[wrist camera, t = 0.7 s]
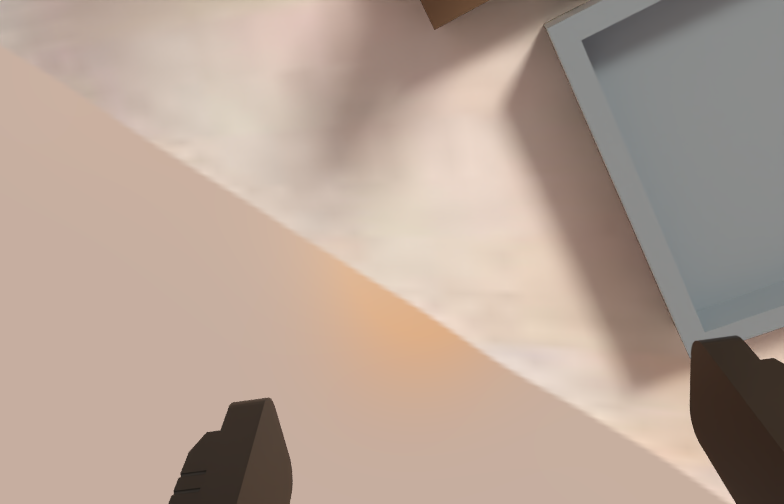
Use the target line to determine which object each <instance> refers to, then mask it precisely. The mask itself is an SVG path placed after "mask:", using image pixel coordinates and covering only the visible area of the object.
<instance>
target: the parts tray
mask: <svg viewBox="0 0 784 504" xmlns="http://www.w3.org/2000/svg"><path fill="white" fill-rule="evenodd" d="M544 27H545V29H546V31H547V33H548V36H549V38H550V40H551V43H552V45H553V47H554V49H555V52H556V54H557V56H558V59H559V61H560V63H561V66H562V68H563V70H564V72H565V75H566V77H567V79H568V82H569V84H570V86H571V88H572V91H573V93H574V95H575V98H576V100H577V102H578V105H579V107H580V109H581V111H582V114H583V116H584V118H585V121H586V123H587V125H588V127H589V130H590V132H591V134H592V137H593V139H594V141H595V144H596V146H597V148H598V150H599V153H600V155H601V157H602V160H603V162H604V164H605V167H606V169H607V171H608V173H609V176H610V178H611V180H612V183H613V185H614V187H615V189H616V192H617V194H618V196H619V199H620V201H621V203H622V206H623V208H624V210H625V212H626V215H627V217H628V219H629V222H630V224H631V226H632V228H633V231H634V233H635V235H636V238H637V240H638V242H639V245H640V247H641V249H642V251H643V254H644V256H645V258H646V261H647V263H648V265H649V267H650V270H651V272H652V274H653V277H654V279H655V281H656V284H657V286H658V288H659V290H660V293H661V295H662V297H663V300H664V302H665V304H666V306H667V309H668V311H669V313H670V316H671V318H672V320H673V323H674V325H675V327H676V329H677V331H678V334H679V336H680V338H681V340H682V342H683V344H684V346H685V348H686V351H687V353H688V355H689V357H690V358H691V347H692V344H693V342H694V341H697V340H705V339H712V338H719V337H727V336H734V335H737V336H739V337H741V338H742V339H743V340H746V339H749V338H752V337H755V336H758V335H761V334H764V333H767V332H770V331H773V330H776V329H779V328H782V327H784V0H590V1H588V2H586V3H584V4H582V5H580V6H578V7H576V8H574V9H572V10H570V11H568V12H567V13H565V14H563V15H561V16H559V17H557V18H555V19H553V20H551V21H549V22H547V23H545V24H544Z"/></svg>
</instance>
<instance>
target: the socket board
mask: <svg viewBox="0 0 784 504" xmlns="http://www.w3.org/2000/svg"><path fill="white" fill-rule="evenodd" d="M420 1H421V3H422V5H423V7H424V9H425V11H426V13H427V15H428V17H429V19H430V21H431V23H432V26H433V28H434V30H435V29H437V28H439V27H441V26H443V25H445V24H446V23H448V22H450V21H452V20H454V19H456V18H457V17H459V16H461V15H463V14H465V13H467V12H468V11H470V10H472V9H474V8H476V7H478V6H479V5H481V4H483V3H485V2H487V1H489V0H420Z"/></svg>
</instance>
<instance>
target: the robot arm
mask: <svg viewBox="0 0 784 504" xmlns="http://www.w3.org/2000/svg"><path fill="white" fill-rule="evenodd" d="M690 415H691V421H692V425H693V429H694V432H695V434H696V437H697V439H698V441H699V443H700V445H701V446H702V448H703V450H704V451H705V453H706V455H707V456H708V458H709V460H710V461H711V463H712V464H713V466H714V468H715V469H716V471H717V473H718V474H719V476H720V478H721V479H722V481H723V483H724V484H725V486H726V488H727V489H728V491H729V493H730V494H731V496H732V498H733V499H734V501H735V503H736V504H784V364H783V363H782V362H780V361H778V360H776V359H774V358H771V359H763V360H760V359H759V358H758V357H757V356H756V354H755V353H754V352H753V351H752V350H751V349H750V348H749V346H748V345H747V344H746V343H745V342H744V341H743V339H742V338H741V337H739V336H737V335H734V336H727V337H719V338H712V339H705V340H697V341H694V342H693V344H692V347H691V372H690ZM291 493H292V467H291V461H290V457H289V453H288V450H287V447H286V443H285V440H284V437H283V433H282V429H281V426H280V423H279V419H278V416H277V412H276V409H275V406H274V404H273V401H272V400H271V399H270V398H262V399H255V400H248V401H240V402H233V403H231V404H230V406H229V408H228V411H227V414H226V416H225V419H224V422H223V425H222V428H221V431H213V432H207V433H206V434H205V435H204V436H203V437H202V438H201V439H200V440H199V442H198V443H197V444H196V445H195V446H194V447H193V448H192V449H191V451H190V452H189V453H188V456H187V458H186V461H185V464H184V466H183V468H182V471H181V478H179V479H178V481H177V484H176V486H175V489H174V495H172V496H171V499H170V501H169V504H290V499H291Z"/></svg>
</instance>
